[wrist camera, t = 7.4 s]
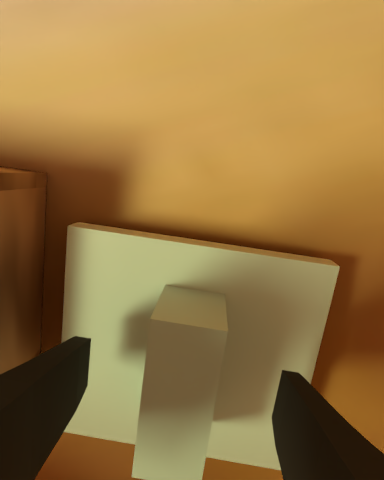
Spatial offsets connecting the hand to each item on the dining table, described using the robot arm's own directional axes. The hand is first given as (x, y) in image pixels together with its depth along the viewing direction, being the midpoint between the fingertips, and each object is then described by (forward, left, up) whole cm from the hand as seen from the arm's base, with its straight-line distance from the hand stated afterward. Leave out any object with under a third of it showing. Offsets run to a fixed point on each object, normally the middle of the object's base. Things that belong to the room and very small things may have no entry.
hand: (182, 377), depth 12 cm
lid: (0, 0, -2) cm, 3 cm away
